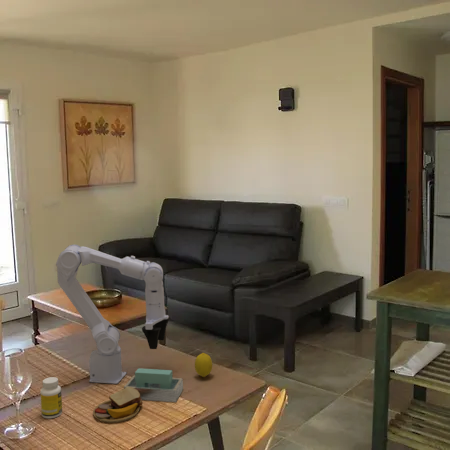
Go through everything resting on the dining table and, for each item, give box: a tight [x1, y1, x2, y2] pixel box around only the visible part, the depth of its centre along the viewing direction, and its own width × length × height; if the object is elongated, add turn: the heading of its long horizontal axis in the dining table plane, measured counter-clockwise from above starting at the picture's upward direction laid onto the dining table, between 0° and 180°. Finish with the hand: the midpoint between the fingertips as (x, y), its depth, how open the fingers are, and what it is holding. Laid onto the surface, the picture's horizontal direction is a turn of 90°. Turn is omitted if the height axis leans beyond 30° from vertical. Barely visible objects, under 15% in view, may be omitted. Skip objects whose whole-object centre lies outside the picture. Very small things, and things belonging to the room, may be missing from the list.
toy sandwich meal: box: [92, 387, 143, 424], centre depth 143 cm, size 12×14×5 cm
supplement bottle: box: [39, 376, 63, 419], centre depth 142 cm, size 5×5×10 cm
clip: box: [134, 367, 174, 389], centre depth 153 cm, size 10×3×6 cm, turn 80°
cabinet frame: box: [123, 374, 184, 403], centre depth 153 cm, size 15×8×4 cm, turn 80°
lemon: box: [194, 352, 213, 378], centre depth 164 cm, size 6×6×8 cm
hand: (157, 344), depth 165 cm, fingers open, 7 cm apart
